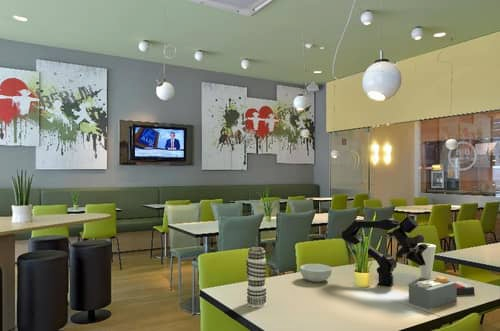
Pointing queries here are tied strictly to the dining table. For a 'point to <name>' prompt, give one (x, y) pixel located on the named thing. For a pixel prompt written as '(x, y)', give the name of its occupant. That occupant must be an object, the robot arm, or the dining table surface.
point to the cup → (427, 261)
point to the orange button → (442, 279)
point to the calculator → (464, 289)
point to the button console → (433, 294)
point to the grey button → (423, 284)
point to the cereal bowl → (316, 272)
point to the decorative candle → (256, 277)
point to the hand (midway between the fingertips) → (423, 265)
